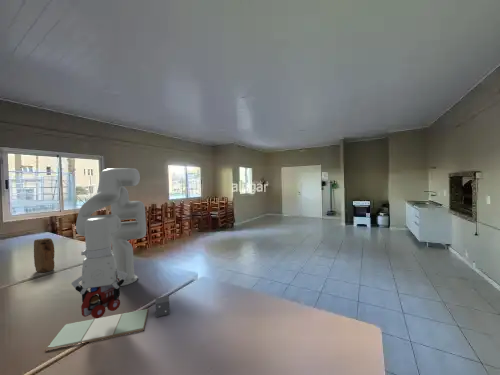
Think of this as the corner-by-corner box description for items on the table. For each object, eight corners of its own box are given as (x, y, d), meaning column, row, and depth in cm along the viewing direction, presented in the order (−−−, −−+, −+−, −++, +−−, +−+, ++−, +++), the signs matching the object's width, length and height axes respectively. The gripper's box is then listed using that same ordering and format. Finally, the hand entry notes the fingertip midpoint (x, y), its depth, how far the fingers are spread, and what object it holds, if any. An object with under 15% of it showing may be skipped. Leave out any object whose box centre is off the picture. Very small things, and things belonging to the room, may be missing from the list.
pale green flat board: (65, 325, 85) (65, 323, 85) (148, 310, 93) (148, 308, 93) (45, 352, 72) (44, 349, 72) (143, 330, 80) (143, 328, 80)
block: (33, 271, 144) (31, 239, 144) (48, 267, 151) (46, 236, 151) (42, 273, 140) (40, 240, 139) (57, 269, 147) (55, 238, 146)
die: (155, 298, 92) (169, 295, 94) (155, 311, 92) (169, 308, 94) (155, 304, 88) (169, 301, 90) (155, 317, 88) (170, 314, 89)
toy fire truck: (77, 318, 79) (75, 288, 79) (114, 301, 90) (113, 274, 89) (87, 324, 75) (85, 292, 75) (124, 306, 86) (123, 278, 86)
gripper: (65, 259, 76) (68, 311, 76) (124, 252, 81) (126, 301, 81) (74, 253, 83) (77, 300, 83) (128, 247, 88) (130, 291, 88)
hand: (101, 300), depth 82 cm, fingers closed on toy fire truck, 8 cm apart
